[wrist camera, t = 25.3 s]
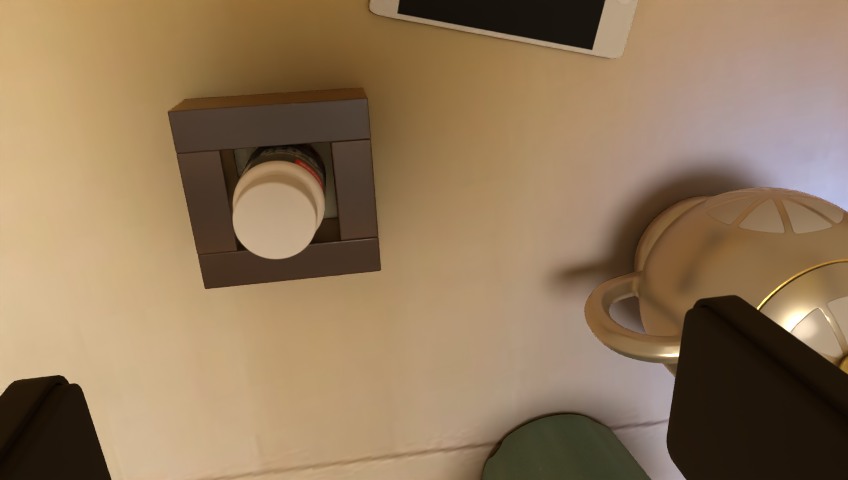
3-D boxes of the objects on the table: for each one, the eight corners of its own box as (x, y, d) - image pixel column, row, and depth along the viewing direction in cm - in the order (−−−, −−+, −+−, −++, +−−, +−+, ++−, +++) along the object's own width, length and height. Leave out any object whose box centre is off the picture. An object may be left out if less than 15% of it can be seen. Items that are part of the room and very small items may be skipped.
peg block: (184, 99, 33) (167, 111, 30) (363, 87, 35) (367, 98, 31) (216, 261, 37) (204, 289, 34) (375, 245, 39) (381, 271, 35)
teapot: (794, 144, 41) (1067, 228, 26) (770, 313, 46) (984, 465, 31) (544, 182, 39) (681, 297, 24) (549, 354, 44) (664, 536, 29)
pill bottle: (336, 151, 36) (339, 192, 28) (312, 220, 37) (309, 277, 30) (259, 125, 35) (240, 160, 27) (237, 197, 36) (213, 250, 28)
